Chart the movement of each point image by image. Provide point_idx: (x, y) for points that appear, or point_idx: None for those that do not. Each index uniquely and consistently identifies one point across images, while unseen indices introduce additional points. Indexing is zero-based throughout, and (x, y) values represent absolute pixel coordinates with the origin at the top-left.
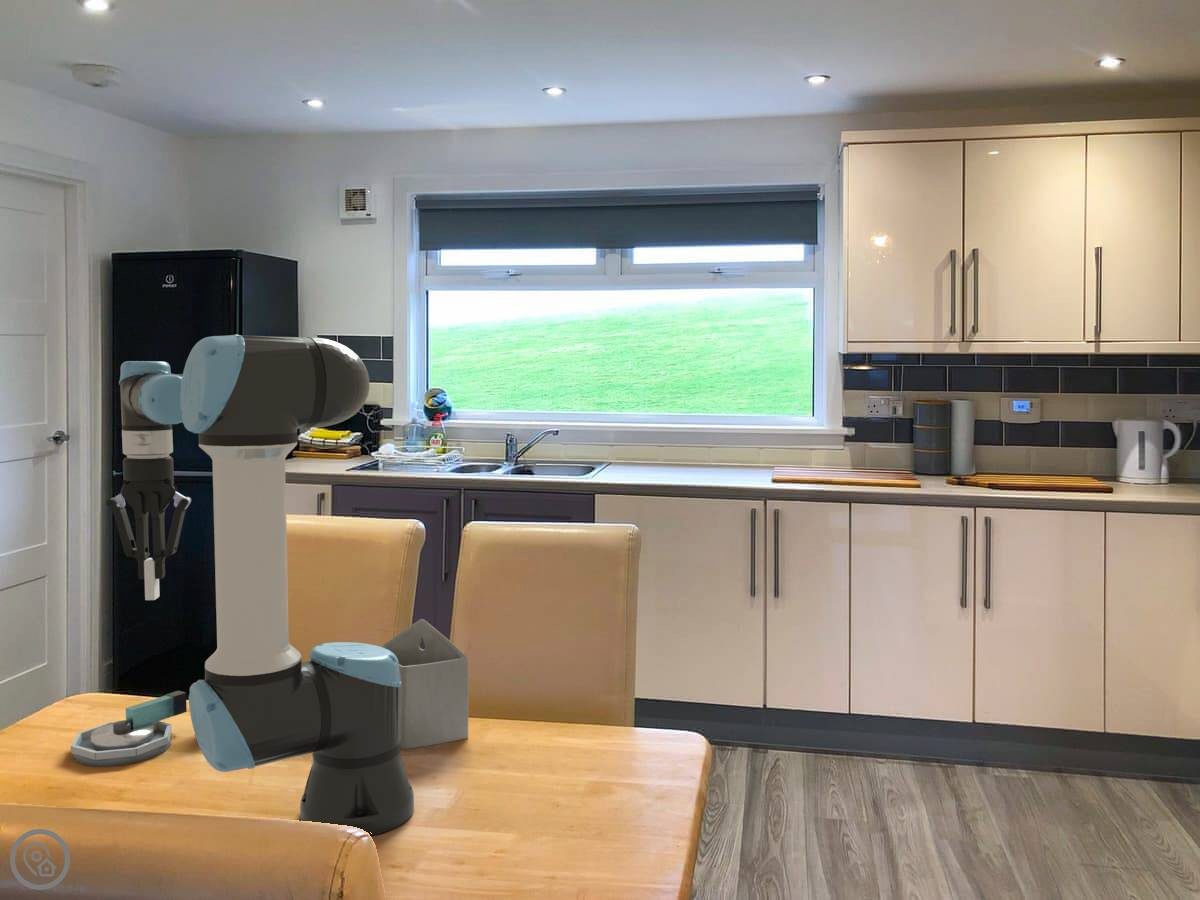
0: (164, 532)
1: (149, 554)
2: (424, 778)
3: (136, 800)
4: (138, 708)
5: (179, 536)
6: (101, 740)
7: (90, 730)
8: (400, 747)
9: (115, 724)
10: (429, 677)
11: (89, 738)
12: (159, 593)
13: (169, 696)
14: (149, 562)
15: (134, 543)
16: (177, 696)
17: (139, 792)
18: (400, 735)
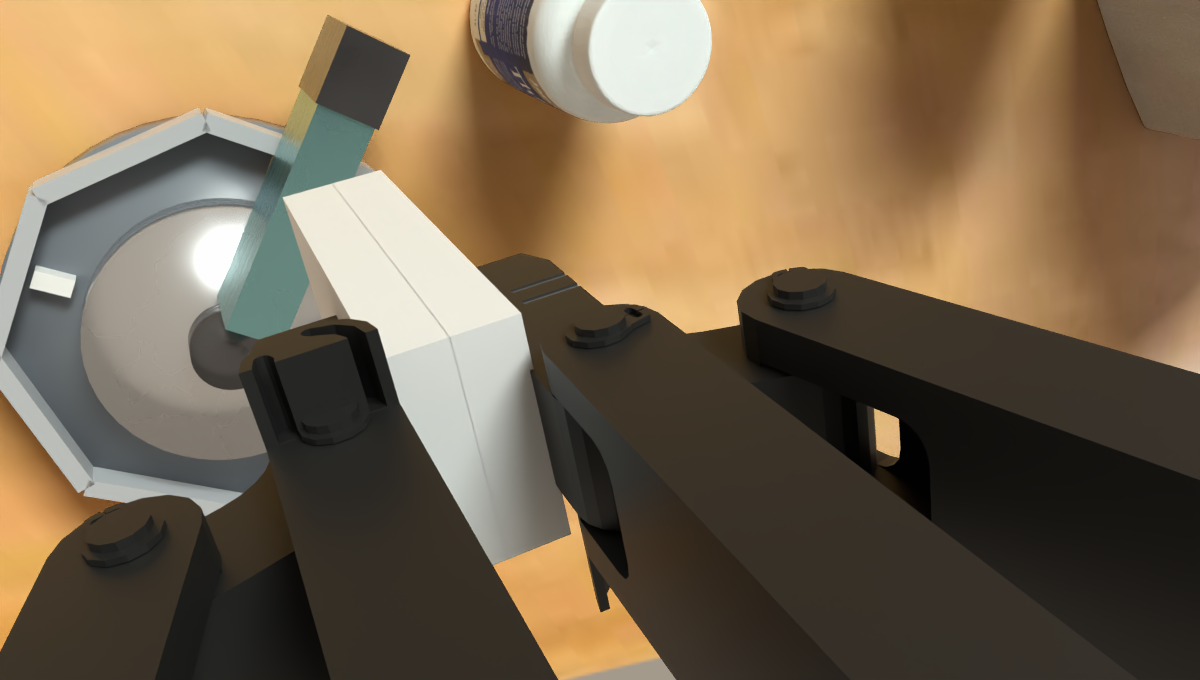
0: (887, 500)
1: (384, 365)
2: (1187, 313)
3: (537, 638)
4: (294, 316)
5: (1080, 360)
6: (209, 451)
7: (14, 310)
8: (1144, 123)
9: (212, 375)
10: None
11: (30, 321)
12: (386, 176)
13: (347, 119)
14: (511, 546)
15: (192, 660)
16: (387, 107)
17: (517, 597)
18: (1178, 129)
